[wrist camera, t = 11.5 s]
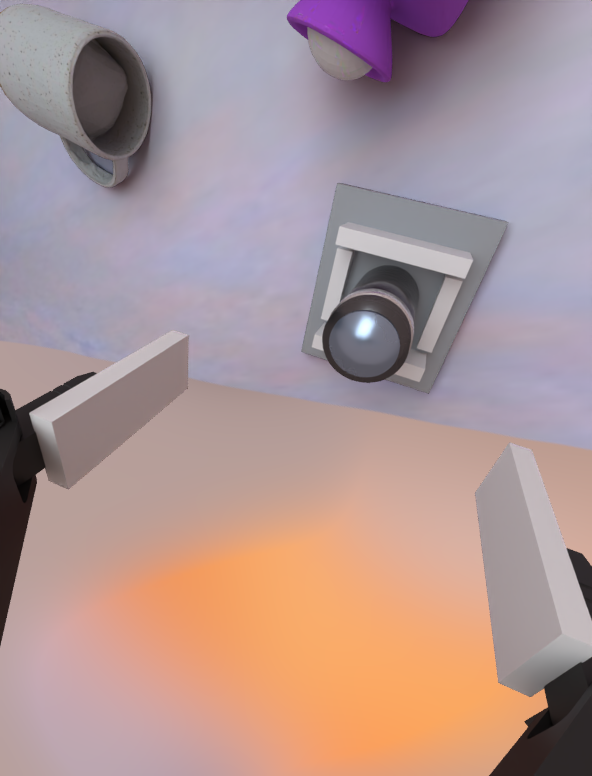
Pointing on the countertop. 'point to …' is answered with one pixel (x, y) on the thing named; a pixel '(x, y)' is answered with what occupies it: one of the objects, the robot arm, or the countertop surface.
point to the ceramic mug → (76, 85)
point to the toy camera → (366, 31)
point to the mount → (412, 253)
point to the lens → (373, 325)
